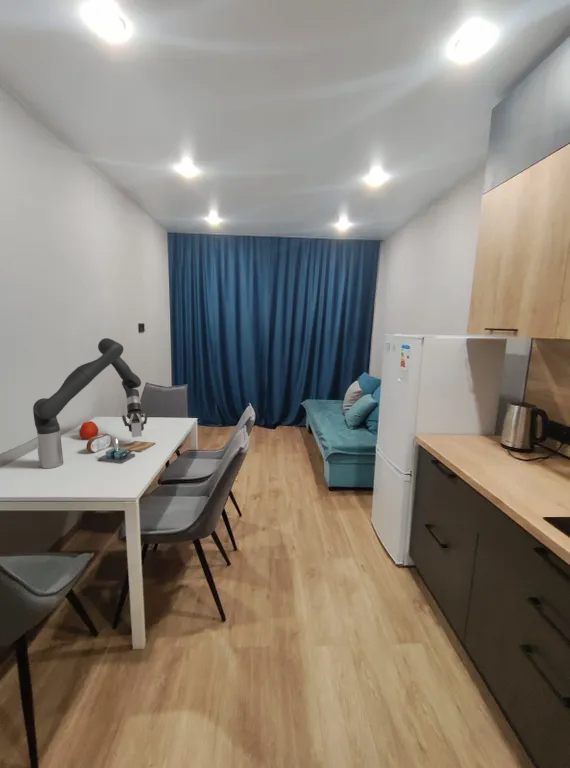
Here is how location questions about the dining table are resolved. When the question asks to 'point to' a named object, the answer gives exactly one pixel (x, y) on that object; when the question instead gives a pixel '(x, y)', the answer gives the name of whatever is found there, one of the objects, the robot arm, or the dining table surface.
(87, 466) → the dining table surface
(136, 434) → the sleeve
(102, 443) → the tin
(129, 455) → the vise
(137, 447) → the board
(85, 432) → the apple
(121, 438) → the dining table surface
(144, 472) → the dining table surface
